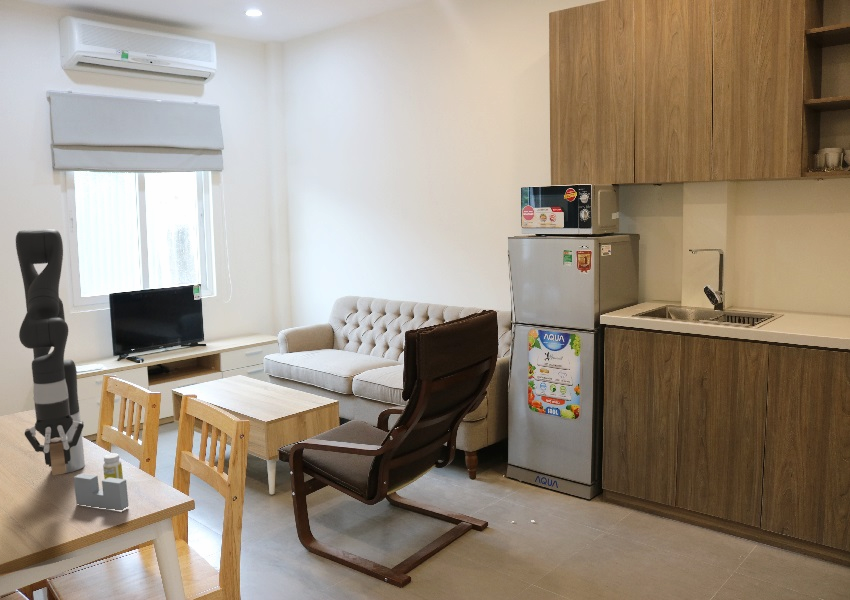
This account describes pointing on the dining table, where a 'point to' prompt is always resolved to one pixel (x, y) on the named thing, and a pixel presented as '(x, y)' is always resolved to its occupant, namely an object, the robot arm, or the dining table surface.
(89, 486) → the grey notched block
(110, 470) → the supplement bottle
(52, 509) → the dining table surface
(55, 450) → the walnut plate
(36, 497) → the dining table surface
